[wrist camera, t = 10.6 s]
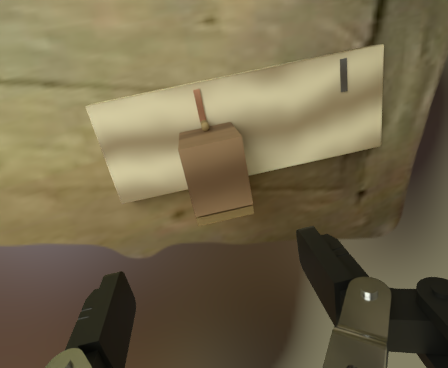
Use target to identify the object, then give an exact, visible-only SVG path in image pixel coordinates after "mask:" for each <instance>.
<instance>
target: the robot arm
mask: <svg viewBox="0 0 448 368" xmlns="http://www.w3.org/2000/svg"><path fill="white" fill-rule="evenodd" d="M296 235H297V243H298V252H299V259H300V263H301V266H302V268H303V270H304V272H305V274H306V276H307V278H308V279H309V281H310V283H311V285H312V287H313V288H314V290H315V292H316V294H317V296H318V297H319V299H320V301H321V303H322V304H323V306H324V308H325V310H326V312H327V313H328V315H329V317H330V319H331V320H332V322H333V324H334V326H335V327H334V328H333V331H332V335H331V338H330V342H329V345H328V349H327V353H326V357H325V360H324V364H323V368H387V366H388V353H389V351H391V352H405V353H417V355H418V356H419V358H420V359H421V360H422V362H423V363H424V365H425V366H426V367H427V368H448V280H447V279H443V278H437V277H428V278H424V279H422V280H420V281H419V282H418V283H417V288H416V289H394V288H389V287H388V286H387V285H386V284H385V283H384V282H382V281H380V280H378V279H376V278H372V277H369V276H368V275H367V274H366V272H364V270H363V269H362V268H361V267H360V265H359V264H358V263H357V262H356V261H355V260H354V258H353V257H352V256H351V255H349V253H348V251H347V250H346V249H345V248H344V247H343V245H342V244H341V243H340V242H339V241H338V239H336V238H334V237H332V236H330V235H329V234H325V235H320V234H319V233H318V231H317V230H316V229H315V227H314V226H310V227H306V228H302V229H298V230H297V231H296ZM135 312H136V302H135V297H134V295H133V292H132V290H131V288H130V285H129V283H128V281H127V279H126V276H125V274H124V273H123V272H117V273H113V274H108V275H105V276H104V277H103V280H102V282H101V285H100V288H99V289H95V290H94V291H93V292H92V293H91V294H90V295H89V297H88V298H87V299H86V301H85V303H84V305H83V308H82V312H81V313H80V315H79V318H78V321H77V322H76V325H75V327H74V330H73V332H72V334H71V337H70V339H69V342H68V344H67V347H66V349H65V351H63V352H61V353H60V354H58V355H57V356H56V357H54V358H53V359H52V360H51V361H50V362H49V363H48V365H47V366H46V367H45V368H125V363H126V358H127V353H128V347H129V342H130V337H131V332H132V327H133V322H134V317H135Z"/></svg>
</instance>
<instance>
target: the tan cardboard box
mask: <svg viewBox="0 0 448 368" xmlns="http://www.w3.org/2000/svg"><path fill="white" fill-rule="evenodd" d="M201 127H202V128H199V129H195V130H190V131H185V132H181V133H179V144H178V152H179V156H180V159H181V163H182V167H183V171H184V175H185V179H186V182H187V186H188V190H189V194H190V198H191V201H192V205H193V209H194V213H195V217H196V219H197V223H198V226H203V225H207V224H211V223H216V222H220V221H224V220H229V219H233V218H237V217H242V216H246V215H251V214H254V209H253V205H252V204H253V200H252V194H251V188H250V182H249V176H248V170H247V164H246V158H245V152H244V146H243V140H242V136H241V134H240V133H239V132H238V131H237V129H236V128H235V127H234V125H233V124H232V123H231V122H227V123H222V124H218V125H213V126H209V124H208V122H207V121H206V120H202V121H201Z"/></svg>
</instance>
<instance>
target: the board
mask: <svg viewBox="0 0 448 368" xmlns="http://www.w3.org/2000/svg"><path fill="white" fill-rule="evenodd" d="M383 57H384V44H381V45H371V46H366V47H361V48H356V49H352V50H347V51H342V52H337V53H332V54H328V55H323V56H318V57H313V58H308V59H304V60H299V61H294V62H289V63H285V64H280V65H275V66H270V67H265V68H261V69H256V70H251V71H246V72H241V73H237V74H232V75H227V76H222V77H217V78H213V79H208V80H203V81H198V82H194V83H189V84H184V85H179V86H174V87H170V88H165V89H160V90H155V91H150V92H146V93H141V94H136V95H131V96H126V97H122V98H117V99H112V100H107V101H103V102H98V103H93V104H90V105H88V106H86V109H87V112H88V115H89V117H90V120H91V123H92V125H93V128H94V131H95V134H96V136H97V139H98V142H99V144H100V147H101V150H102V152H103V155H104V158H105V161H106V163H107V166H108V169H109V171H110V174H111V177H112V179H113V182H114V185H115V188H116V190H117V193H118V196H119V198H120V201H121V204H124V203H129V202H133V201H138V200H142V199H147V198H151V197H155V196H160V195H164V194H169V193H173V192H178V191H182V190H187V189H188V186H187V182H186V179H185V175H184V171H183V167H182V163H181V159H180V156H179V152H178V144H179V133H181V132H185V131H190V130H195V129H199V128H202V127H201V121H202V120H206V121H207V122H208V124H209V126H213V125H218V124H222V123H227V122H231V123H232V124H233V125H234V127H235V128H236V129H237V131H238V132H239V133H240V134H241V136H242V140H243V146H244V152H245V158H246V164H247V170H248V176H249V175H254V174H258V173H263V172H267V171H272V170H276V169H281V168H285V167H290V166H294V165H299V164H303V163H308V162H312V161H317V160H321V159H325V158H330V157H334V156H339V155H343V154H348V153H352V152H357V151H361V150H366V149H370V148H375V147H379V146H381V127H382V92H383Z"/></svg>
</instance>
